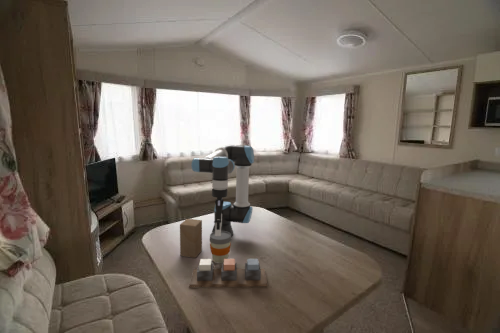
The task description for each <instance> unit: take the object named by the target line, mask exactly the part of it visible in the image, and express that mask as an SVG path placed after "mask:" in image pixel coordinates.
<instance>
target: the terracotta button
mask: <svg viewBox="0 0 500 333" xmlns="http://www.w3.org/2000/svg"><path fill="white" fill-rule="evenodd" d="M235 263H236V258H228V259H224V271H235Z"/></svg>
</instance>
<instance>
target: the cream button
mask: <svg viewBox="0 0 500 333" xmlns="http://www.w3.org/2000/svg"><path fill="white" fill-rule="evenodd" d="M199 260H200V261H199V263H200V264H199V263H198V265H199V271H211V268H212V263H213V262H212V261H213V258H200V259H199Z"/></svg>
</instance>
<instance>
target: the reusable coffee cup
mask: <svg viewBox="0 0 500 333" xmlns="http://www.w3.org/2000/svg"><path fill="white" fill-rule="evenodd" d="M231 241H232V236H231V234H230V233H229V232H227V231H221V236H215V232H213V233H212V232H211V233H210V234H209V242H210V243H209V248H210V253H211V259H212V261H213V263H216V264H222V263H224V259H229V254H230V253H231V252H230V251H231Z"/></svg>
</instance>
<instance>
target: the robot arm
mask: <svg viewBox="0 0 500 333" xmlns="http://www.w3.org/2000/svg"><path fill="white" fill-rule="evenodd" d="M254 163H255V152H254V148H253V147H252V146H251V145H245V144H244V145H242V144H236V145H235V144H227V145H223V146H221V147H218V148H216V149H215V150H214V152H211V153H209V154H207V155H206V156H204V157H194V158H193V159H192V161H191V170H192V171H193V172H194V173H195V172H196V173H205V174H209V173H210V174H212V179H211V180H212V181H210V183H211V184H212V185H211V186H212V190H211V196H212V197H214V198H216V199H215V200H214V203H215V205H214V210H213V211H214V221H213V228H212V231H211V233H213V232H215V236H221V231H227V232H229V233H230V234H231V237H233V235H234V230H233V227H232V223H240V224H249V222H250V221H251V219H252V215H253V207H252V206H251V203H250V201H249V188H250V187H249V185H250V184H249V183H250V182H249V180H250V179H249V178H250V168H251V167H252V164H254ZM235 168H236V169H235ZM235 170H236V173H235V174H236V175H235V176H236V177H235V178H236V182H235V202H233V204H232V203H231V202H230V201H224V199H223V198H227V197H228V187H229V174H231V173H232V172H234V171H235Z"/></svg>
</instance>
